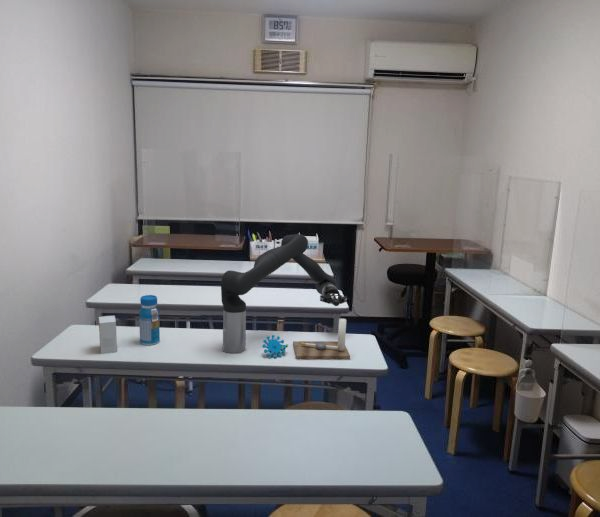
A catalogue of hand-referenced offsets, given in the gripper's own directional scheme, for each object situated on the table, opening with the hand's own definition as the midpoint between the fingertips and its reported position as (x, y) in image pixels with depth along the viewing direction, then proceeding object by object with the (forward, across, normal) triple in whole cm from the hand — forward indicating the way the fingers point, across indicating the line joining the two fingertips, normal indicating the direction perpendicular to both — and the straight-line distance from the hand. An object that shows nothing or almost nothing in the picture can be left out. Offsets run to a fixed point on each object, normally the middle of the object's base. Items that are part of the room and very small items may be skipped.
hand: (336, 303), depth 223 cm
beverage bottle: (+2, -80, +19) cm, 82 cm away
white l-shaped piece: (+13, -7, +16) cm, 21 cm away
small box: (+10, -95, +19) cm, 97 cm away
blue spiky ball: (+15, -27, +18) cm, 36 cm away
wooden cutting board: (+12, -8, +17) cm, 23 cm away
